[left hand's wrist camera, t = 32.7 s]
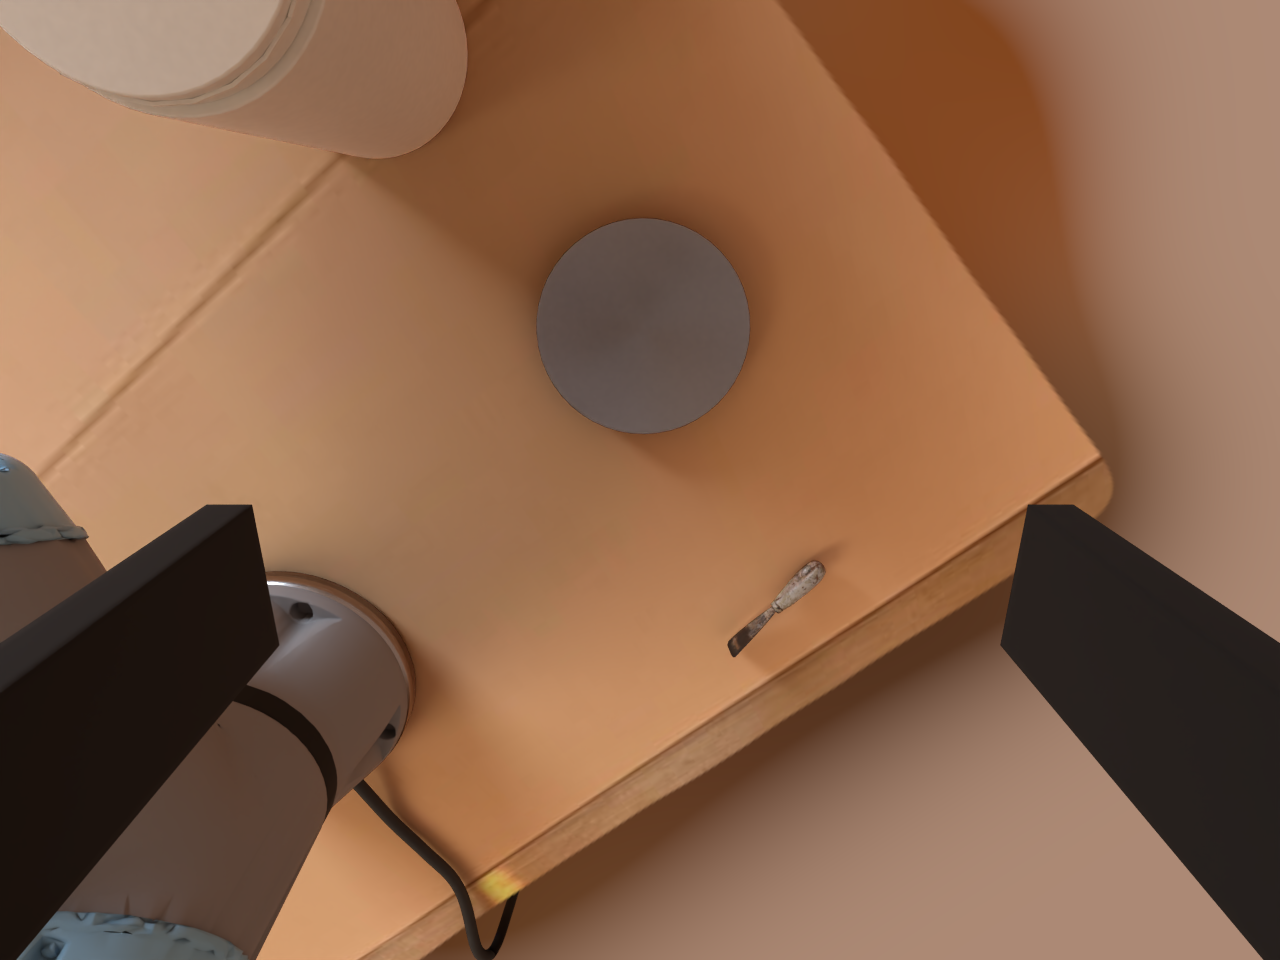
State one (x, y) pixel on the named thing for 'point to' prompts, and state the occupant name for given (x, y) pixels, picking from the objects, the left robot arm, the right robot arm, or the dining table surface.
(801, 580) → the putty knife
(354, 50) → the jar
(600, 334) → the lid
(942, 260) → the dining table surface
